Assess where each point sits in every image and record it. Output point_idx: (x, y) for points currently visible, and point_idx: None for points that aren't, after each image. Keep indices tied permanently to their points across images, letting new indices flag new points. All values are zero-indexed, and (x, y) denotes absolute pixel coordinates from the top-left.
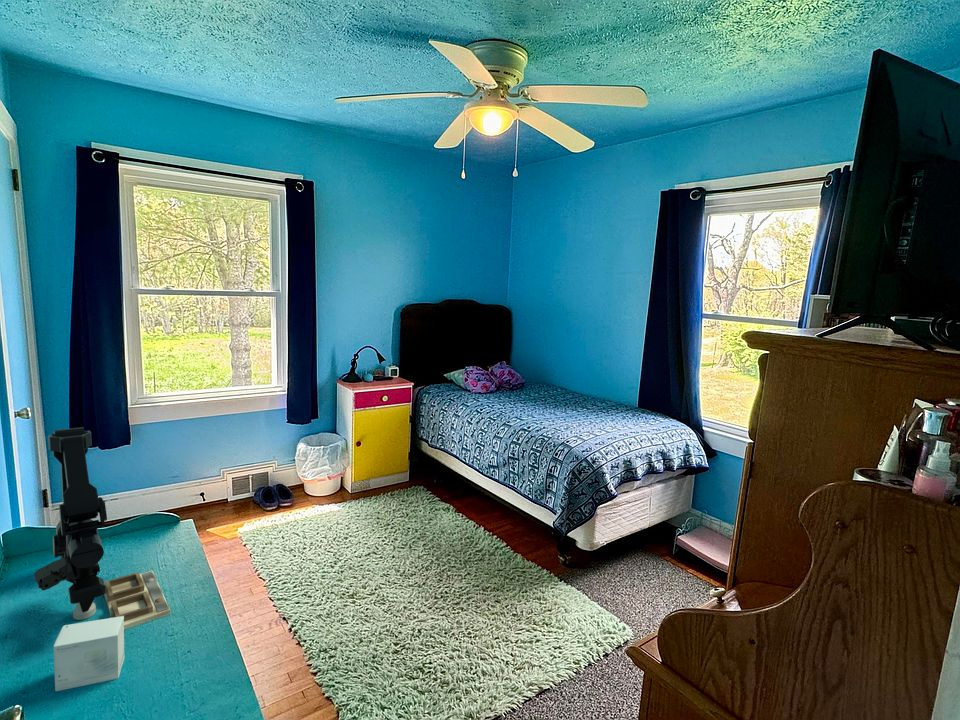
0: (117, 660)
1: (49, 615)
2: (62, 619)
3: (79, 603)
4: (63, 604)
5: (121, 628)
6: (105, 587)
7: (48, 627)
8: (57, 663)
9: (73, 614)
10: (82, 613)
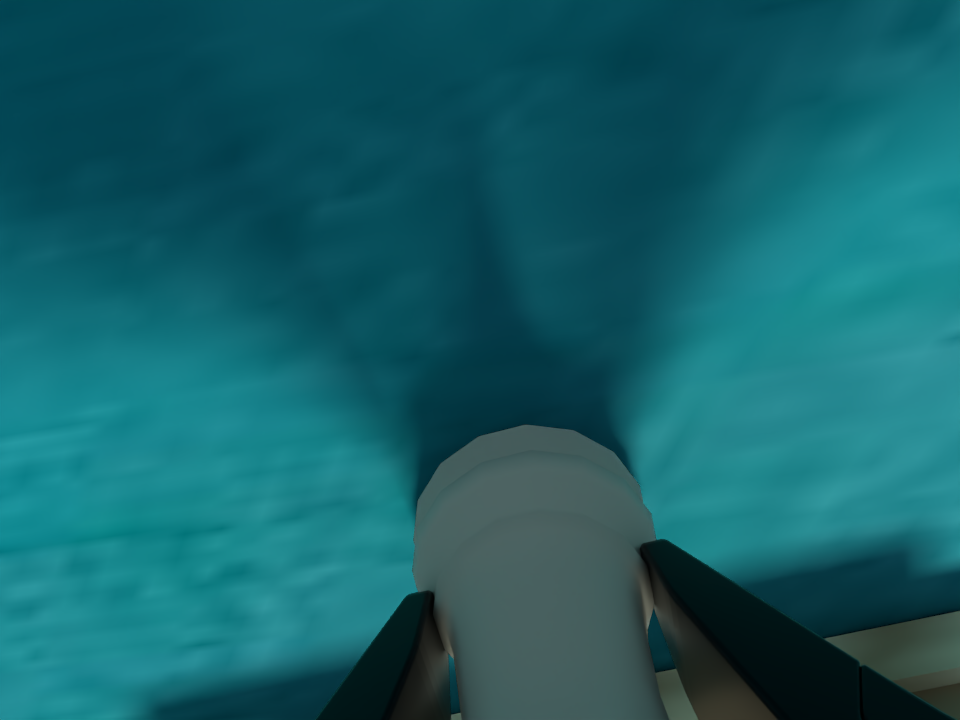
0: None
1: (694, 141)
2: (527, 314)
3: (479, 639)
4: (881, 263)
5: None
6: (943, 691)
7: (407, 187)
8: None
9: (540, 431)
10: (416, 573)
